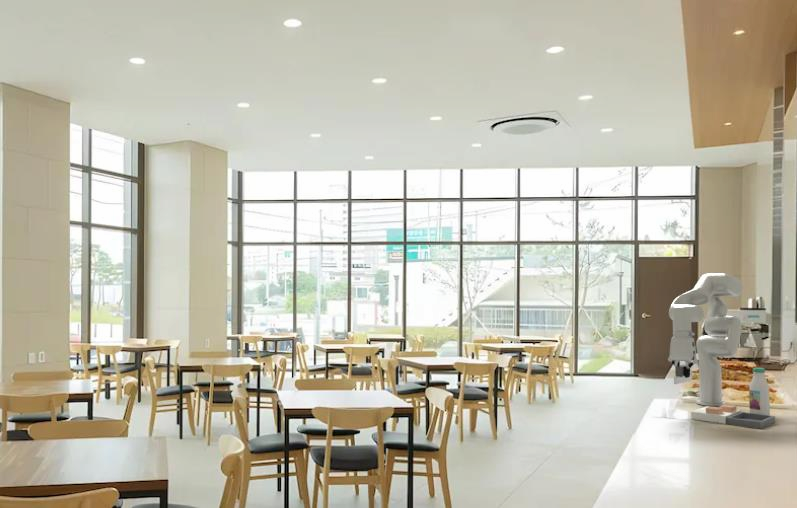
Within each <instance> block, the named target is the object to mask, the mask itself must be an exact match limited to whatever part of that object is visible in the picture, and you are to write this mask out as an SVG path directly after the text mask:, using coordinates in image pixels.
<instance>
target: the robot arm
mask: <svg viewBox="0 0 797 508" xmlns="http://www.w3.org/2000/svg"><path fill="white" fill-rule="evenodd" d="M743 289H744V287H743V284H742V281H741V280H740V279H739V278H738V277H735V276H734V275H731V274H728V273H724V272H723V273H721V272H720V273H704V274H702V275H701V276H700V277H699V279H698V280H697V282H696V283H695V285H694V287H693V288H692V289H691V290H689V291H686V292H685V293H682V294H680V295H678V296H677V297H676V298H675V299H673V302H672V303H671V304H670V307H669V310H668V317H669V318H670V319H671V320H672V337H671V338H670V339H671V340H670V343H669V344H670V345H669V346H670V347H669V356H668V358H667V361H668V362H670V363H671V364H672V365H673V367H675V366H679V365H681V362H685V364H684V365H686V368H685V378H688V377H689V376H690V373H691V368H692V367H693V366H694V365H696V364H698V377H699V378H698V379H699V380H698V381H699V382H698V383H699V385H698V387H699V391H698V392H699V399H696V400H695V403H696V404H697V405H700V406H705V407H706V406H709V407H710V406H712V407H719V406H721V405H724V404H725V405H727V403H726V401H724V400H723V398H724V393H723V389H722V388H723V386H722V385H723V384H722V383H723V382H722V365H721V362H720V361H719V359H718V358H729V359H730V358H734V357H735V356H736V355H737V354H738V349H739V344H740V339H741V336H742V327H743V326H742V325H743V324H742V321H741V319H740V317H737V316H734V315H728V311H729V309H728V306H727V304H726V302H725V301H724V300H723V299H722V298H721V297H726V298H727V297H728V298H729V297H731V298H732V297H733V298H734V297H735V298H736V297H738V296H740V295H741V294H742V293H743ZM705 304H707V305H708V307H707V312H706V316H705V321H704V332H705V333H706V334H707V335H701V336H699V337H698V338H697V340H696V343H695V338H694V337H693V336H695V332H693V330H692V323H698V322H701V321H702V320H703V318H704V315H705V312H704V308H702V307H701V305H705ZM697 357H698V358H697Z"/></svg>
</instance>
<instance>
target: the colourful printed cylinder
mask: <svg viewBox="0 0 797 508" xmlns="http://www.w3.org/2000/svg"><path fill="white" fill-rule="evenodd" d="M752 374H753V376H752V378H751V381H750V383H749V387H748V389H749V391H748V392H749V394H748V397H749V399H748V401H749V405H748V406H749V413H754V414H762V415H770V416H771V413H770V412H771V409H770V408H771V406H770V405H771V404H770V403H771V402H770V400H771V399H770V387H769V383H768V381H767V379H766V378H765V374H766V370H765V368H764V367H753V368H752Z"/></svg>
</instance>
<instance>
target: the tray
mask: <svg viewBox="0 0 797 508" xmlns="http://www.w3.org/2000/svg"><path fill="white" fill-rule="evenodd" d="M775 423H776V416H775V415H771V414H770V415H762V414H754V413H750V412H744V411H740V413H737V414H735V415H732V416H730V417H727V423H726V424H727V425H731V426H740V427H747V428H754V429H759V430H761V429H764V428H766V427H768V426H771V425H772V424H775Z"/></svg>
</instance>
